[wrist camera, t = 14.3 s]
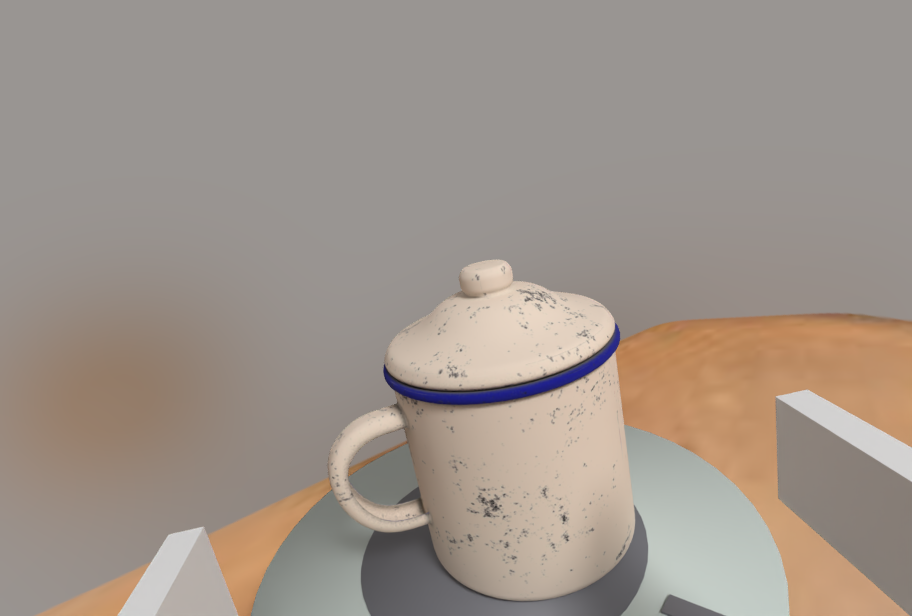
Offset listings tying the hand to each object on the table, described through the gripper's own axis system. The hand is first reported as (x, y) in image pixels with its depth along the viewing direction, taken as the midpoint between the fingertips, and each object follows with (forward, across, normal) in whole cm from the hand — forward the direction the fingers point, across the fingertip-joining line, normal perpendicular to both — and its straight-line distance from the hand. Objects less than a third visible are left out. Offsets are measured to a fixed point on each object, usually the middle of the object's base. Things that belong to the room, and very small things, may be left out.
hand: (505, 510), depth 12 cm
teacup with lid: (+9, 0, -8) cm, 12 cm away
